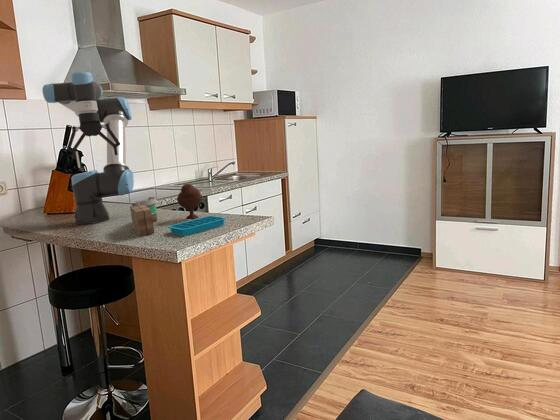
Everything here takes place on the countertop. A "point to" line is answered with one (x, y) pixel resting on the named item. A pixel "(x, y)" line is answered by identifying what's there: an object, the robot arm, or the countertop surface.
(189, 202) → the ice cream bowl
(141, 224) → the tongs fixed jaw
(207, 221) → the ice cube tray
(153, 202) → the food container
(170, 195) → the countertop surface
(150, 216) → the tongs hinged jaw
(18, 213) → the countertop surface
